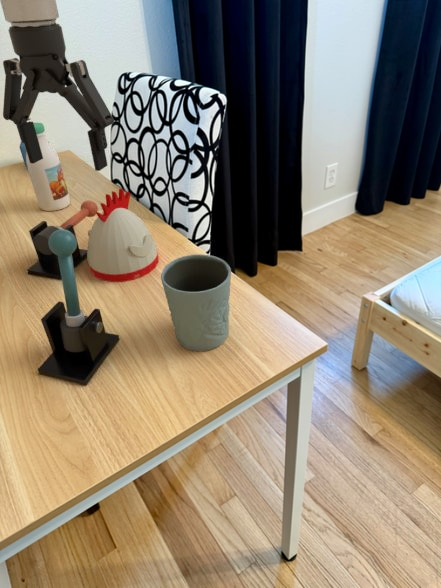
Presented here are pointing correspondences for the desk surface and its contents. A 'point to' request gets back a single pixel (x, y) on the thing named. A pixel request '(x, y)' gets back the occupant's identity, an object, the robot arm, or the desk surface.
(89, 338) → the front stand
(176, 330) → the grey green cup
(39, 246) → the terracotta lever
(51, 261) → the back stand
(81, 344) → the ball top lever
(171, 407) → the desk surface
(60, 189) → the milk bottle
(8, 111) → the robot arm
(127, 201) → the kitchen timer
